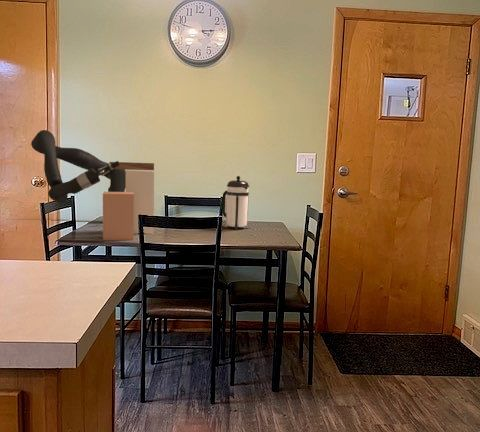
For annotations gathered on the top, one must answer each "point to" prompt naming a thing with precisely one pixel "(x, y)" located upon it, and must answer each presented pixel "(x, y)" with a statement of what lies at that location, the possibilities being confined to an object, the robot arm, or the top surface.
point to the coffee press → (236, 203)
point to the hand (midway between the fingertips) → (118, 162)
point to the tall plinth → (141, 194)
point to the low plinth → (118, 216)
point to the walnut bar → (134, 166)
